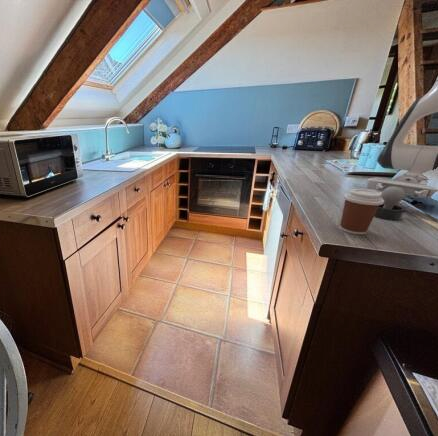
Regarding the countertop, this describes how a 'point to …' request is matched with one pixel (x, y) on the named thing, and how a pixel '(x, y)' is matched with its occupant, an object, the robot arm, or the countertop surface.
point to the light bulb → (392, 196)
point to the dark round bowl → (390, 212)
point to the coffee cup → (359, 210)
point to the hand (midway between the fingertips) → (397, 191)
